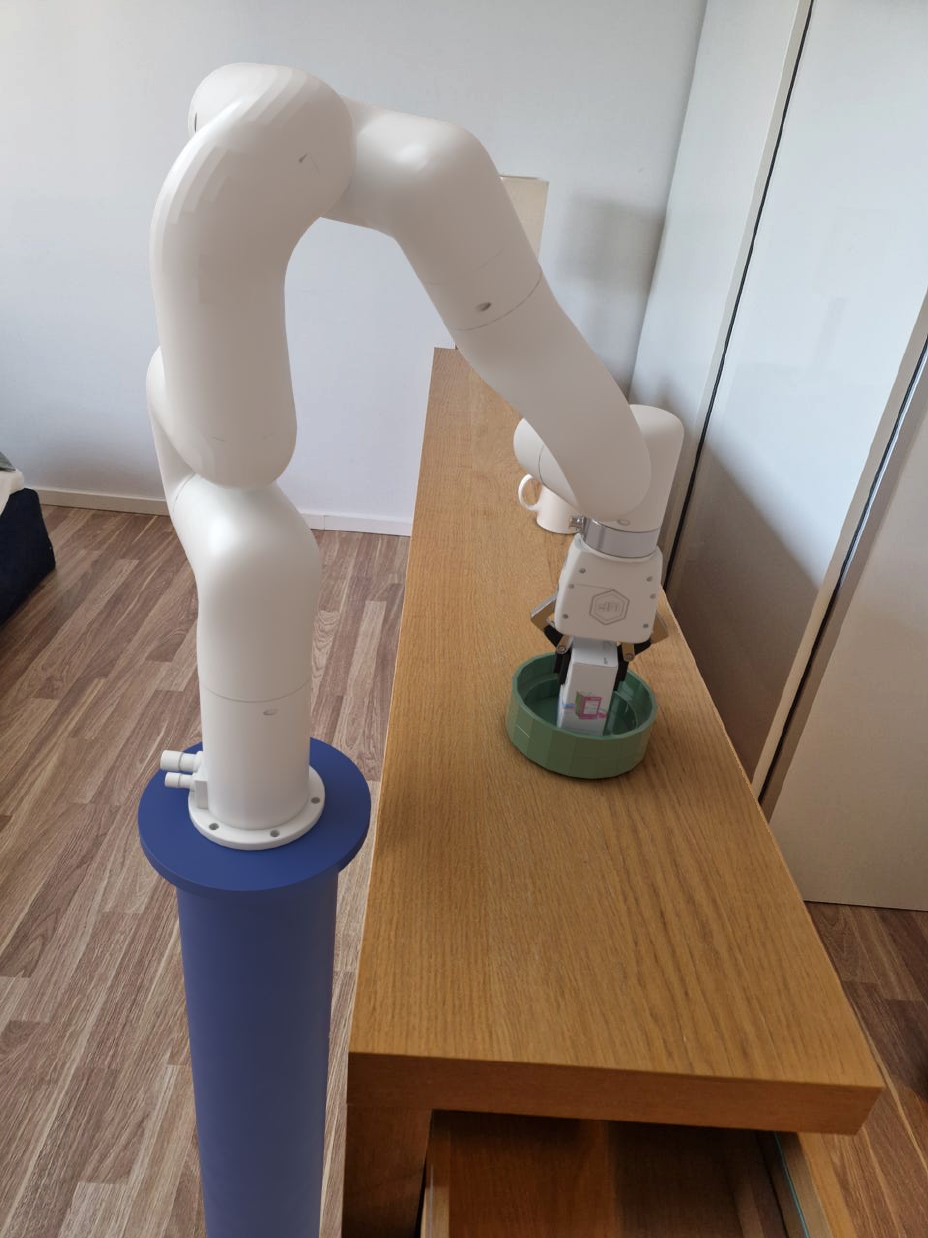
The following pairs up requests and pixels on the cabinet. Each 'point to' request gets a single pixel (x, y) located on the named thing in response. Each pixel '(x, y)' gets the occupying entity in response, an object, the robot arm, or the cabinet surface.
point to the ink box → (587, 686)
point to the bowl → (567, 750)
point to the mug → (550, 509)
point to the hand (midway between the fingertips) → (586, 679)
